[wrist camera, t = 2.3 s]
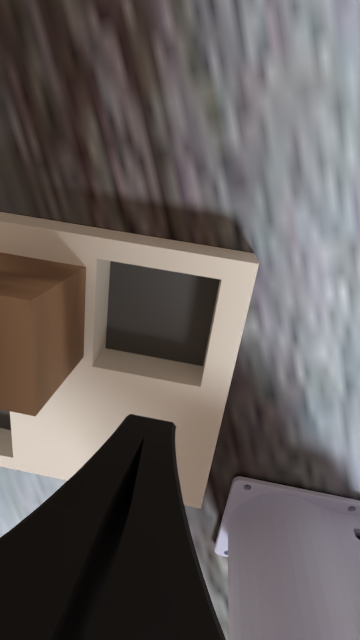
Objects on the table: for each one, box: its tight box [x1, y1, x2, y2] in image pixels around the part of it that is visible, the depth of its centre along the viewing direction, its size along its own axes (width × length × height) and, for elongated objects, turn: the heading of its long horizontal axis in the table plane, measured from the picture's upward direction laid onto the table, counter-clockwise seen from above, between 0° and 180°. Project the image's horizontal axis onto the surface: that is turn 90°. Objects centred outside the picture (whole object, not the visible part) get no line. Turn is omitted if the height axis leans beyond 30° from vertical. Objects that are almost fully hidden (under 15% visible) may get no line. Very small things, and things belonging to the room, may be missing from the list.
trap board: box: [0, 212, 259, 508], centre depth 19 cm, size 22×16×4 cm
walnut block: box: [0, 252, 86, 416], centre depth 15 cm, size 5×5×5 cm
